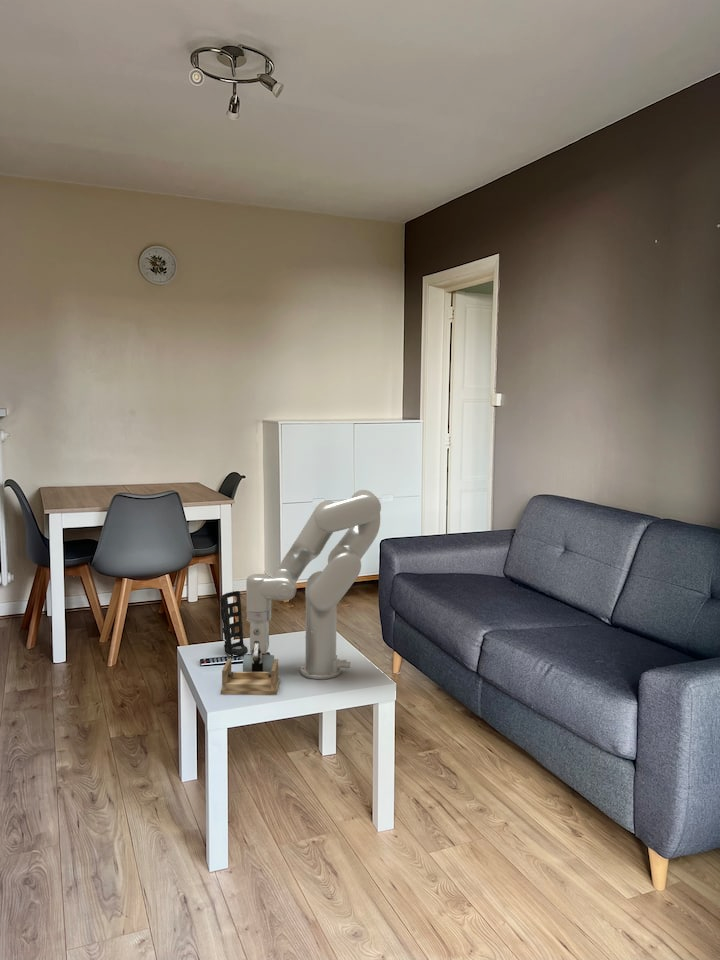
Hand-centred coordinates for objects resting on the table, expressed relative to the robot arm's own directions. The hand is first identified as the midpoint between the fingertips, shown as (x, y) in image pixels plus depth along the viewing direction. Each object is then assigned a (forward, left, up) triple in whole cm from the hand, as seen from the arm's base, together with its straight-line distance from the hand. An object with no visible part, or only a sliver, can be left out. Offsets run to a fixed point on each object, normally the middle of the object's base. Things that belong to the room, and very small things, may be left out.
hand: (258, 671), depth 223 cm
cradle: (+1, +11, -1) cm, 11 cm away
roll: (0, 0, -1) cm, 1 cm away
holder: (+11, -20, -1) cm, 23 cm away
